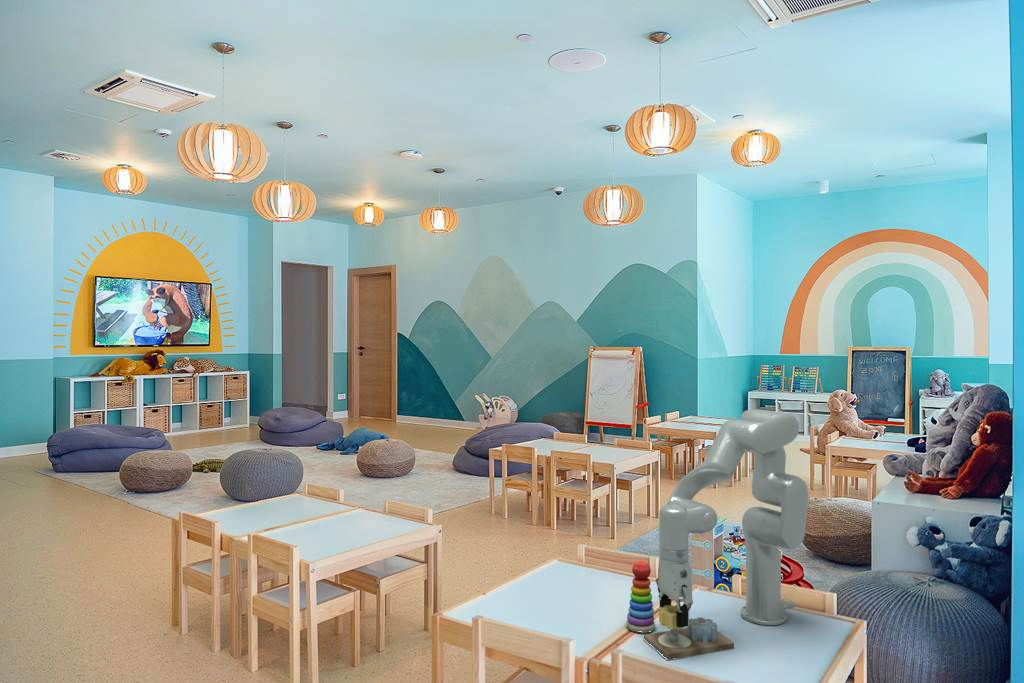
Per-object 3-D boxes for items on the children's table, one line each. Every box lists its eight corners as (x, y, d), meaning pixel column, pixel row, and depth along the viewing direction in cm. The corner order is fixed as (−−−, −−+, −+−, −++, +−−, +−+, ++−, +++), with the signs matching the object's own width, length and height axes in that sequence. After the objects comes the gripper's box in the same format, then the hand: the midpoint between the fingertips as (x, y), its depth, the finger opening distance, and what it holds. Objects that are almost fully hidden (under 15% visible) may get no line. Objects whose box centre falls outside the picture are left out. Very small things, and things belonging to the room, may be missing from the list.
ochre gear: (678, 616, 188) (678, 603, 188) (694, 627, 181) (694, 614, 181) (653, 619, 186) (653, 606, 186) (668, 631, 178) (668, 618, 178)
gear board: (707, 629, 193) (707, 608, 193) (734, 648, 182) (734, 625, 182) (643, 640, 187) (643, 618, 187) (667, 660, 176) (666, 636, 176)
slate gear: (698, 627, 191) (698, 613, 191) (722, 636, 186) (722, 622, 185) (681, 635, 186) (681, 621, 186) (706, 645, 181) (706, 630, 181)
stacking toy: (655, 635, 190) (655, 567, 190) (625, 633, 192) (625, 565, 191) (655, 623, 198) (655, 557, 198) (627, 621, 200) (626, 556, 199)
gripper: (705, 562, 176) (705, 631, 176) (668, 542, 192) (668, 605, 193) (679, 565, 173) (679, 635, 174) (644, 545, 190) (644, 609, 190)
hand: (673, 619), depth 183 cm, fingers closed on ochre gear, 7 cm apart
